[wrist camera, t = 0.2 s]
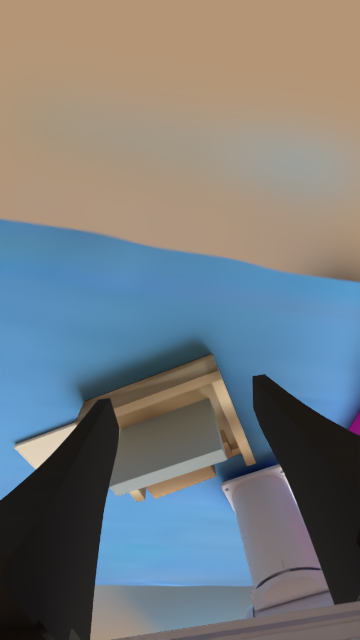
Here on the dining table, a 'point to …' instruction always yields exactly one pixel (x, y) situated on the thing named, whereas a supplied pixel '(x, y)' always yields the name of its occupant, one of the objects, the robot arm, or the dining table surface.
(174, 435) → the sheet
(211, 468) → the offcut upper
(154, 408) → the wooden tray
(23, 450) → the mat
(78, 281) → the dining table surface
